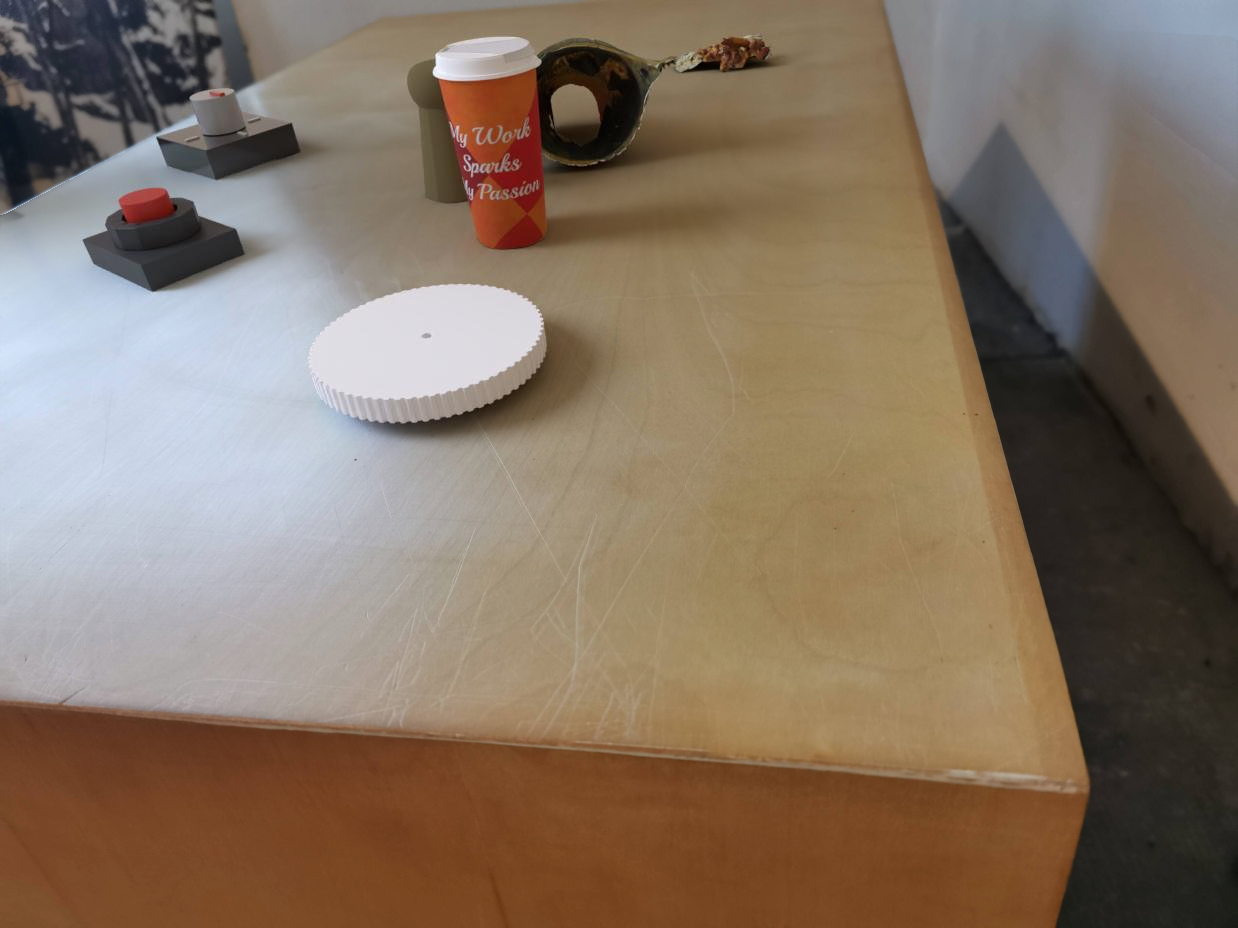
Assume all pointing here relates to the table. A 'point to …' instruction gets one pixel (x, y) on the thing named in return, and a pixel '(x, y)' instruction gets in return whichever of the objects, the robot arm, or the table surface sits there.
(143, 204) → the button
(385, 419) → the plastic lid
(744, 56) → the pastry
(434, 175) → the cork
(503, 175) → the paper cup
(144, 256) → the box
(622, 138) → the olive metal hollow piece
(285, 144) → the panel
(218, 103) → the burner knob
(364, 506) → the table surface
